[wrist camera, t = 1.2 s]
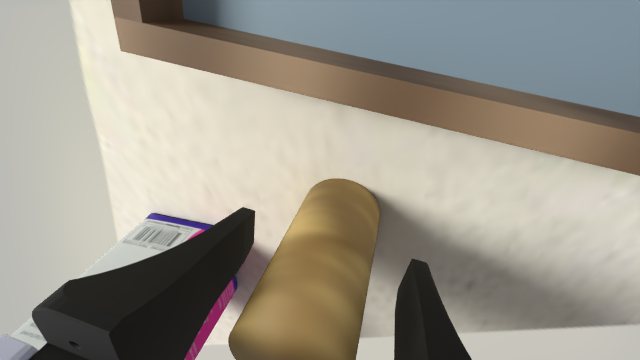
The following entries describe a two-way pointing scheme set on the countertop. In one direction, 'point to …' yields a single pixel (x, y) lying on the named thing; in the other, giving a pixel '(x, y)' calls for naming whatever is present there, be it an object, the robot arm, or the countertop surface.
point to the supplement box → (135, 247)
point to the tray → (382, 86)
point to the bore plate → (466, 39)
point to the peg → (314, 281)
